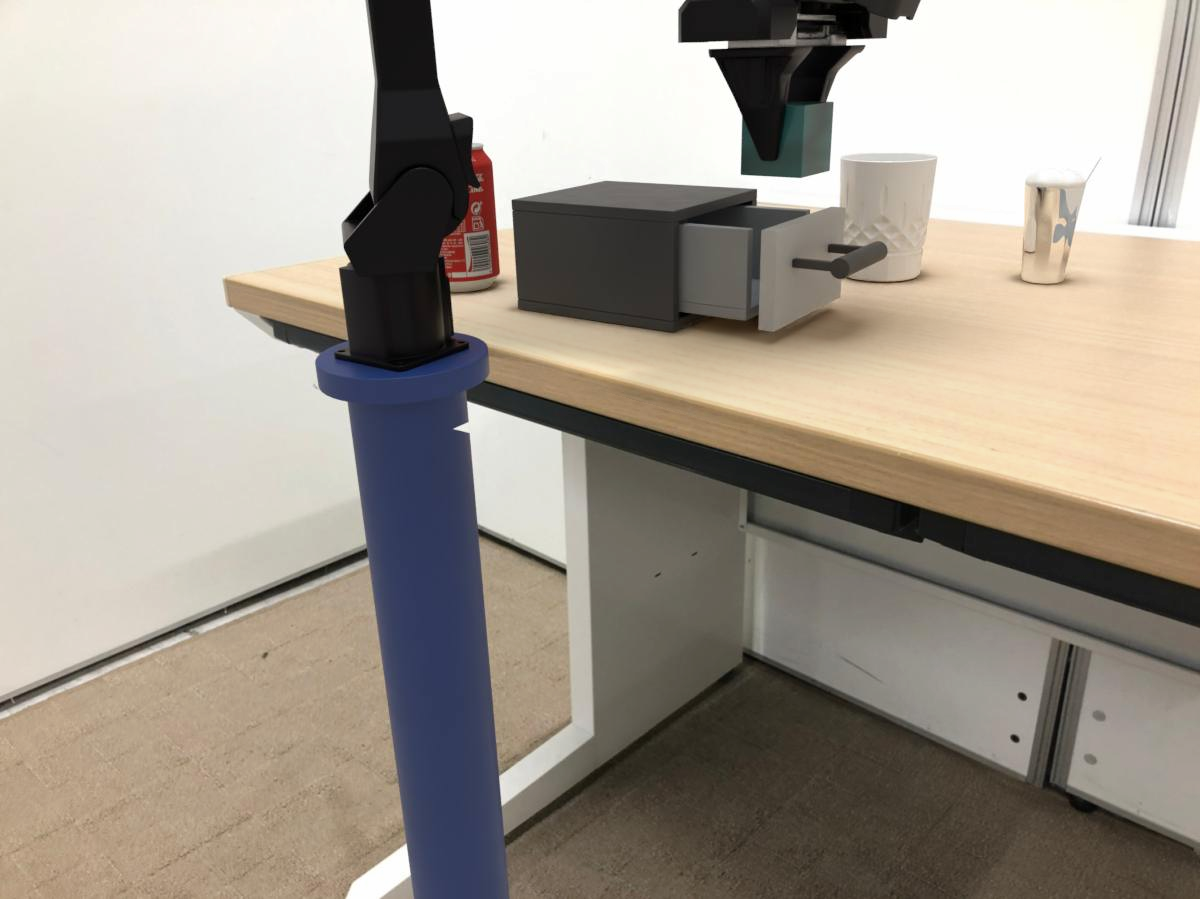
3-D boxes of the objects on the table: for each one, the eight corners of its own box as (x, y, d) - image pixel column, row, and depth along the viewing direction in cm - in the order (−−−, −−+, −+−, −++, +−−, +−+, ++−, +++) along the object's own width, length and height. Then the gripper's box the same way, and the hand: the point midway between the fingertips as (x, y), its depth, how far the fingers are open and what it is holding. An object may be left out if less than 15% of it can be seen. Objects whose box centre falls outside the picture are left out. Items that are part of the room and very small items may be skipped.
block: (801, 178, 64) (804, 105, 63) (740, 175, 67) (742, 104, 65) (829, 170, 68) (834, 101, 66) (770, 168, 70) (773, 101, 69)
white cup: (942, 272, 87) (954, 154, 83) (899, 288, 82) (910, 163, 78) (861, 261, 92) (869, 150, 88) (816, 276, 87) (822, 158, 83)
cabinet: (754, 296, 80) (757, 188, 77) (673, 332, 71) (673, 211, 68) (608, 279, 88) (605, 180, 85) (517, 309, 79) (510, 199, 76)
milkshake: (1077, 288, 80) (1097, 160, 76) (1007, 282, 82) (1023, 158, 78) (1085, 277, 83) (1104, 154, 79) (1018, 272, 86) (1033, 153, 82)
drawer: (894, 304, 73) (901, 210, 71) (832, 340, 65) (838, 236, 62) (688, 280, 83) (688, 197, 80) (610, 309, 74) (608, 217, 72)
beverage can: (492, 275, 91) (482, 140, 87) (507, 289, 86) (498, 145, 81) (424, 282, 89) (410, 144, 85) (435, 296, 84) (421, 150, 79)
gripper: (860, -141, 50) (840, 178, 55) (975, -103, 64) (949, 149, 69) (673, -115, 56) (672, 169, 62) (815, -86, 70) (803, 144, 76)
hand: (785, 157), depth 67 cm, fingers closed on block, 4 cm apart
